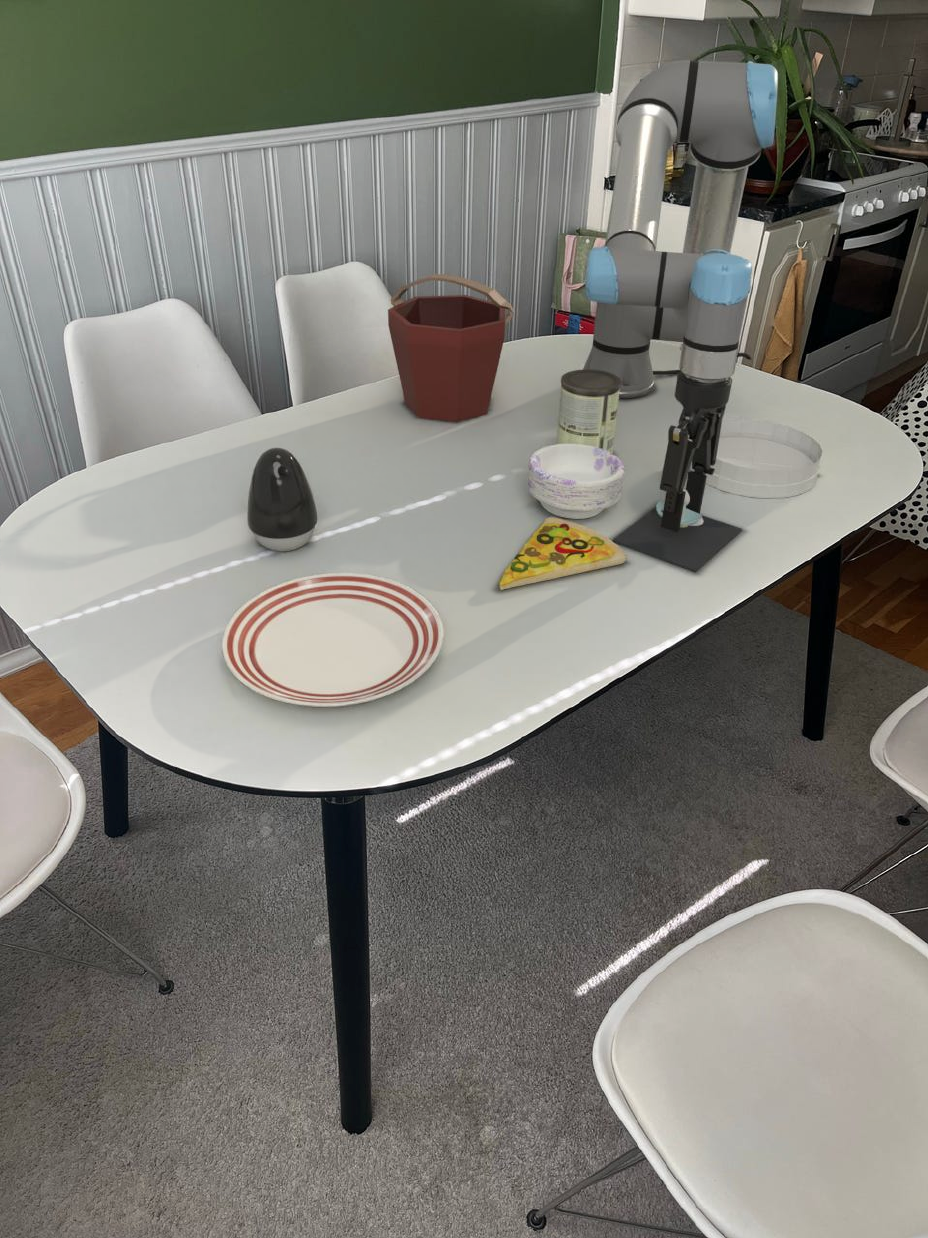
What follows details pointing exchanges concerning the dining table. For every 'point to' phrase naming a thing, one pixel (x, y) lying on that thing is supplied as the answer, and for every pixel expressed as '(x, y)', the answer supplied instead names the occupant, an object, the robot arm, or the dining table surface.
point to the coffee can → (588, 408)
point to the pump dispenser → (280, 502)
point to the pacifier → (684, 513)
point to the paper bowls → (575, 479)
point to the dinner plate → (332, 639)
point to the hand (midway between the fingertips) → (680, 519)
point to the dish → (764, 459)
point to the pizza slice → (560, 553)
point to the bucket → (448, 349)
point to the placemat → (678, 540)
